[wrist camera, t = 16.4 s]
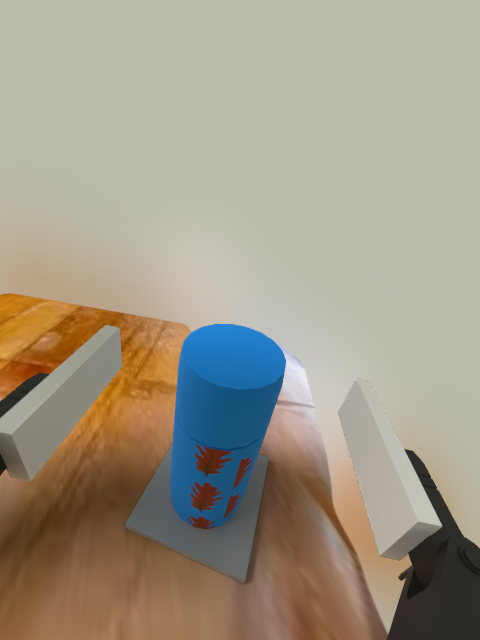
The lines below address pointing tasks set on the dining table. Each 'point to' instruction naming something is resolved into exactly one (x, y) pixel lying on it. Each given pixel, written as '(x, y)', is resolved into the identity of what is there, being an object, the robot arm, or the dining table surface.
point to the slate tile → (196, 543)
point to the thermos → (221, 418)
